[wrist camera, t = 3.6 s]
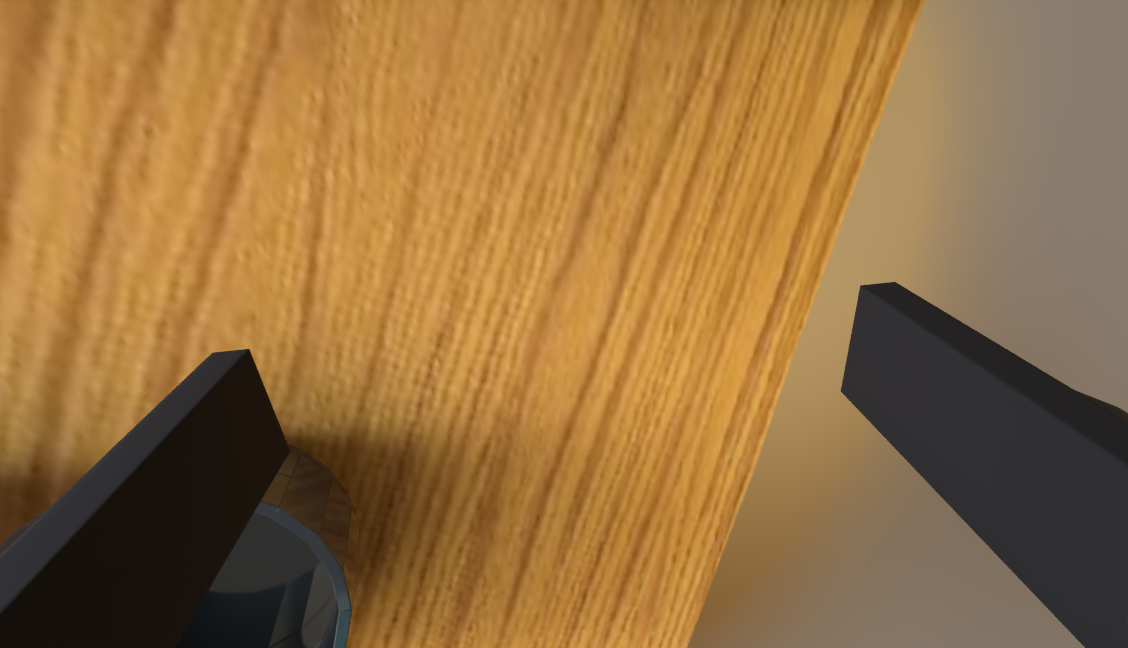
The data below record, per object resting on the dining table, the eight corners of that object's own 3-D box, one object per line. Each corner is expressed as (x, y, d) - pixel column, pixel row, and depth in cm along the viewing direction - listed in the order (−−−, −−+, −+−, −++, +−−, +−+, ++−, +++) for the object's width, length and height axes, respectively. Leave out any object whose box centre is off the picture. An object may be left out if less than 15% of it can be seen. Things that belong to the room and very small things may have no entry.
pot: (59, 672, 28) (-35, 798, 22) (81, 422, 26) (-14, 482, 20) (341, 655, 32) (329, 756, 26) (374, 441, 30) (370, 495, 24)
